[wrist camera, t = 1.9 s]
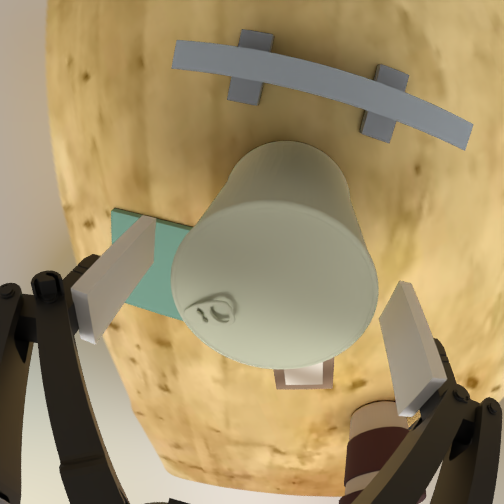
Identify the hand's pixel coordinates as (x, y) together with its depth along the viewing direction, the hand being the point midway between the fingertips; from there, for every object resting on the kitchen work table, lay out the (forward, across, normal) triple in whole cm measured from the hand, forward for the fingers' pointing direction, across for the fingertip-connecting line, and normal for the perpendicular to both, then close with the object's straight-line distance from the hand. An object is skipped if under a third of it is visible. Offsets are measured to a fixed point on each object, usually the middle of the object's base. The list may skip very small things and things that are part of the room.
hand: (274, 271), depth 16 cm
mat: (+9, -9, -8) cm, 15 cm away
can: (+9, 0, +1) cm, 9 cm away
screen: (+8, 0, +10) cm, 13 cm away
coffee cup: (+9, +19, -23) cm, 32 cm away
